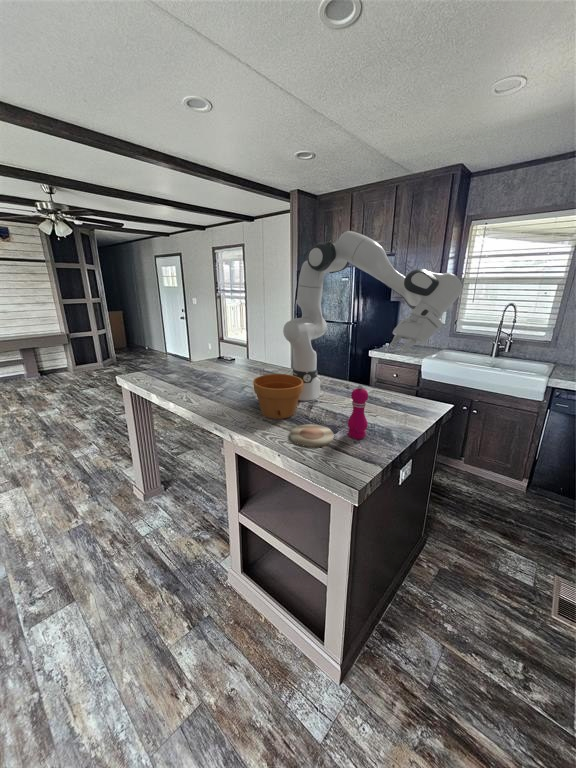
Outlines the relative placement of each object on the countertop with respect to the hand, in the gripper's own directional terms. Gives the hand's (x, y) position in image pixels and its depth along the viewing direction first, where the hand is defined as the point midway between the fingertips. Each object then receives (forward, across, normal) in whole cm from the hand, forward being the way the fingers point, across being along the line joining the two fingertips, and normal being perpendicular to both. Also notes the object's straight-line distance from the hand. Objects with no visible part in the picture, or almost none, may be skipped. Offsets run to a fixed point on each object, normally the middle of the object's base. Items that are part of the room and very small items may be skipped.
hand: (396, 348), depth 112 cm
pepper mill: (+33, -1, +11) cm, 35 cm away
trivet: (+44, -1, -2) cm, 44 cm away
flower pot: (+50, -24, -12) cm, 57 cm away
